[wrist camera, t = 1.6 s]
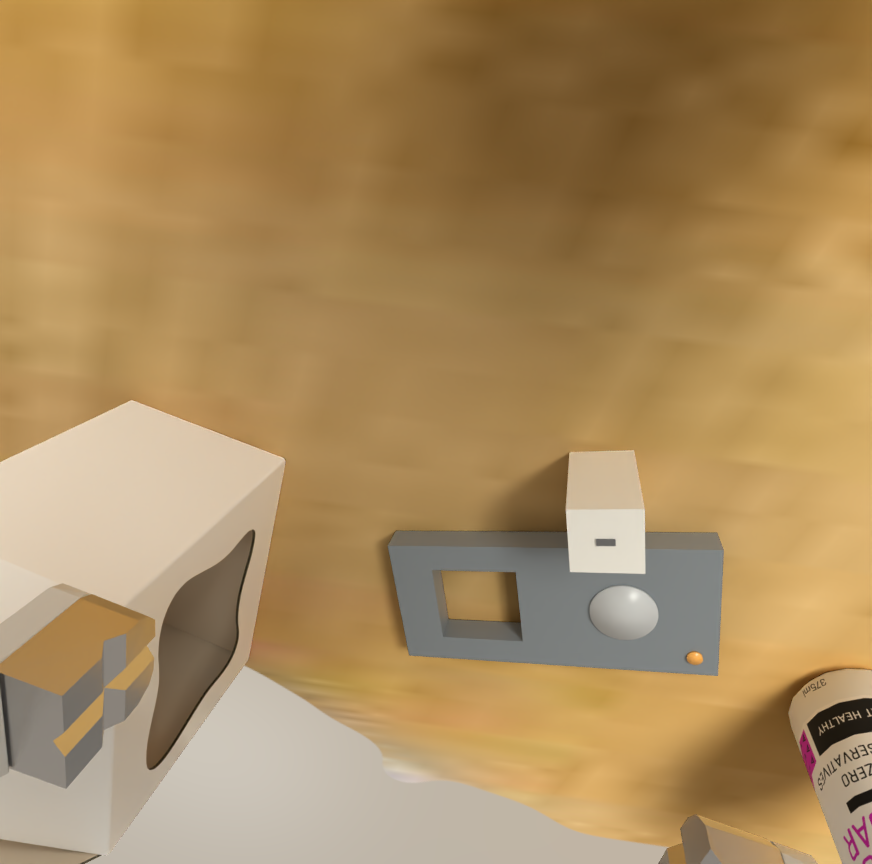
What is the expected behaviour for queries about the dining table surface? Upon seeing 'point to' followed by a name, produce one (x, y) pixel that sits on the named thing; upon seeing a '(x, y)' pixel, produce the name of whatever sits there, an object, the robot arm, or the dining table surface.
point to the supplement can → (839, 755)
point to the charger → (605, 513)
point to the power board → (567, 602)
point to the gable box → (135, 596)
